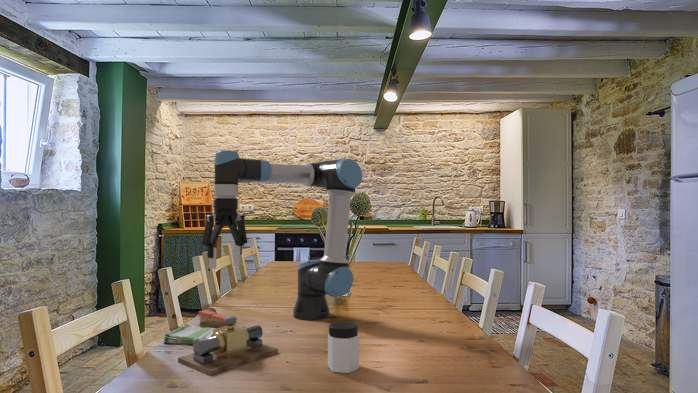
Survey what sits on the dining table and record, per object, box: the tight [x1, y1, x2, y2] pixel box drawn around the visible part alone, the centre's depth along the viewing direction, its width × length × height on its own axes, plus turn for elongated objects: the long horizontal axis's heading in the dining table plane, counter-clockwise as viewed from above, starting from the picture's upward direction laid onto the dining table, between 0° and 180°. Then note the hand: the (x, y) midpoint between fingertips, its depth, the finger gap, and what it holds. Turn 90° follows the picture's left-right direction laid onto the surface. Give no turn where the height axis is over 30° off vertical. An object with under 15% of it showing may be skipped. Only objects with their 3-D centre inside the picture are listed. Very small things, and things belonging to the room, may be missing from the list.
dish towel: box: [162, 323, 216, 346], centre depth 151 cm, size 17×23×4 cm
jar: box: [327, 321, 360, 374], centre depth 123 cm, size 9×8×12 cm
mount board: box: [177, 343, 279, 376], centre depth 131 cm, size 24×16×1 cm, turn 142°
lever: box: [198, 309, 237, 325], centre depth 135 cm, size 16×4×2 cm, turn 52°
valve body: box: [192, 324, 264, 365], centre depth 131 cm, size 22×7×9 cm, turn 142°
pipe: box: [198, 306, 226, 328], centre depth 165 cm, size 6×17×10 cm
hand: (225, 266), depth 143 cm, fingers open, 9 cm apart
